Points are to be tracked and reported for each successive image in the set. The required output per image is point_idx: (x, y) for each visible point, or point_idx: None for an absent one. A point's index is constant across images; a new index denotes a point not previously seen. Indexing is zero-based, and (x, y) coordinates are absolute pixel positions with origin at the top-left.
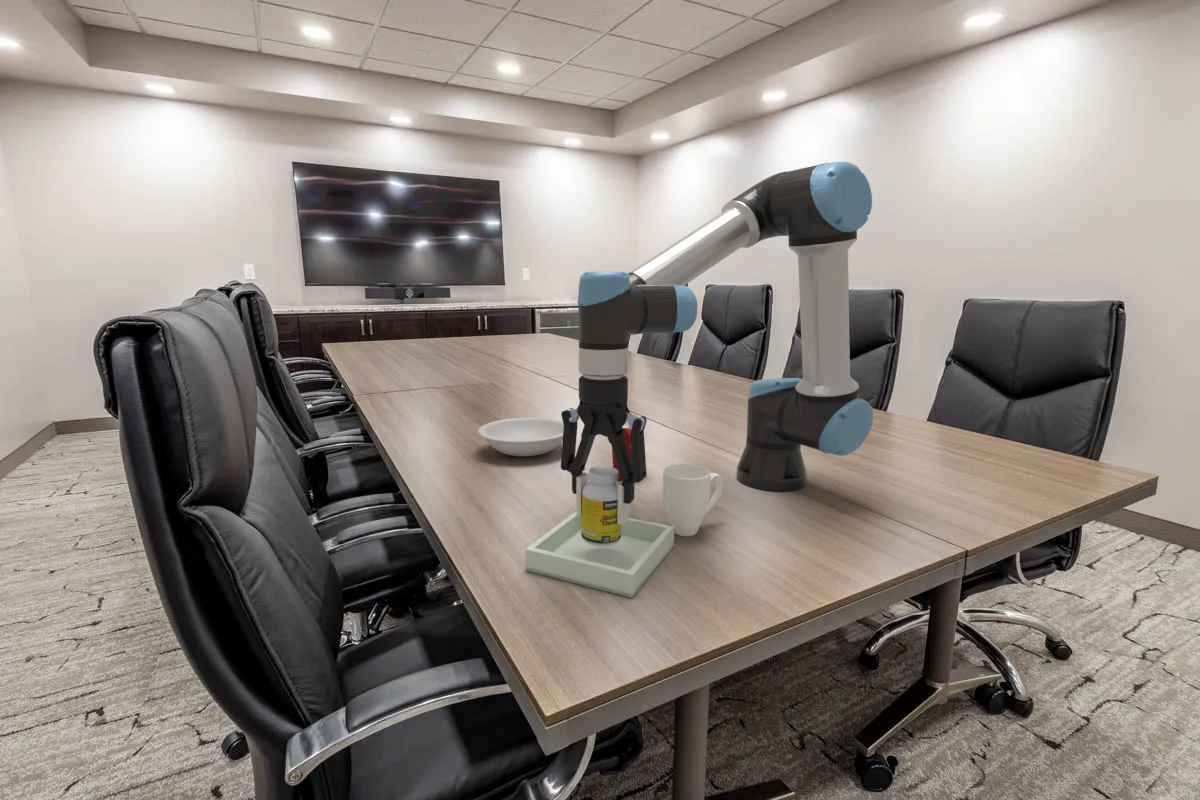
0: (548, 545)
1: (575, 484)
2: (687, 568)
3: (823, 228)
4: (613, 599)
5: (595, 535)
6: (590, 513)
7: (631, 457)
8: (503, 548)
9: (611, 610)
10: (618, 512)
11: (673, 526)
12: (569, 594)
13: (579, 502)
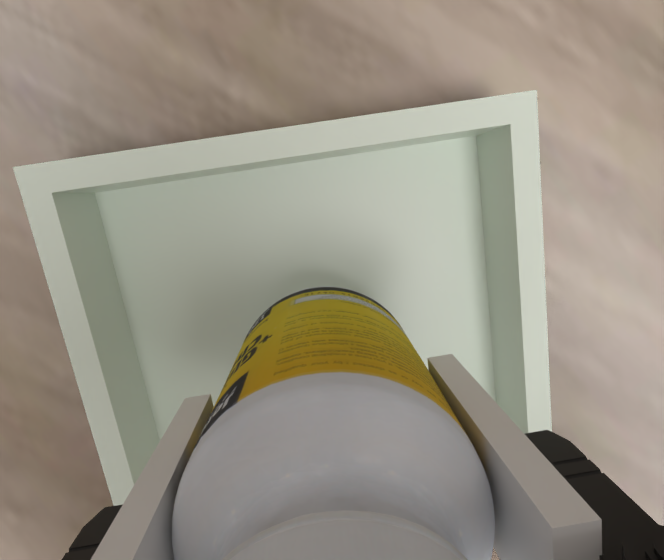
0: (499, 238)
1: (573, 482)
2: (46, 440)
3: None
4: (118, 129)
5: (296, 300)
6: (330, 331)
7: None
8: (658, 193)
9: (79, 64)
10: (187, 432)
11: None
12: (262, 66)
13: (462, 393)
